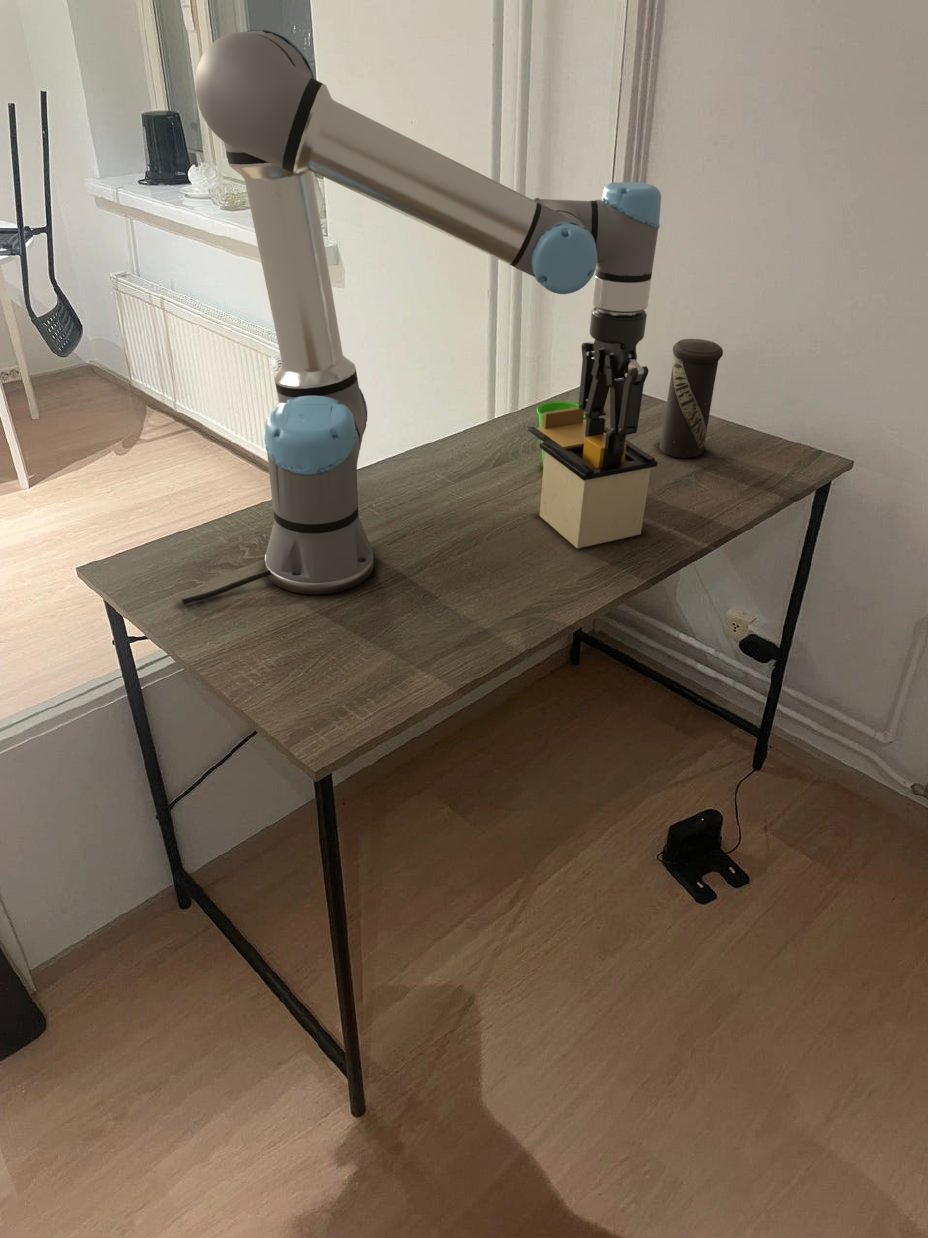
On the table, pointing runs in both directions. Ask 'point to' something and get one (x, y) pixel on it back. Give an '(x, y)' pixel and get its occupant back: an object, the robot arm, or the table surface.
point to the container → (689, 397)
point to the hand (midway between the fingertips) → (601, 466)
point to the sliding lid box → (593, 493)
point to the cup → (552, 407)
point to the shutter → (565, 427)
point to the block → (596, 450)
